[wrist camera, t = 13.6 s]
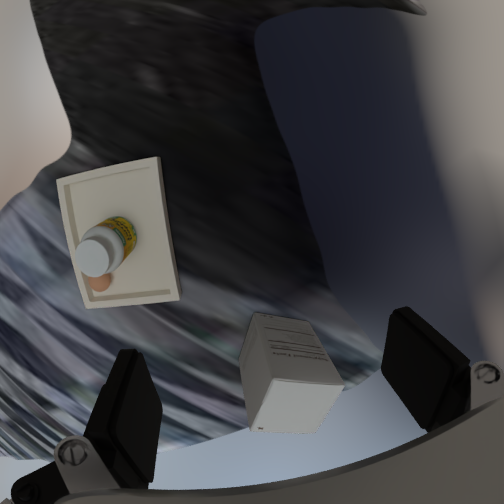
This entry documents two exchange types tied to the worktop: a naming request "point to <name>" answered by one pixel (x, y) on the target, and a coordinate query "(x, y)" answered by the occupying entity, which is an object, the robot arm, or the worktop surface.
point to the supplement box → (286, 376)
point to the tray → (144, 219)
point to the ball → (100, 282)
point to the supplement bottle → (106, 246)
